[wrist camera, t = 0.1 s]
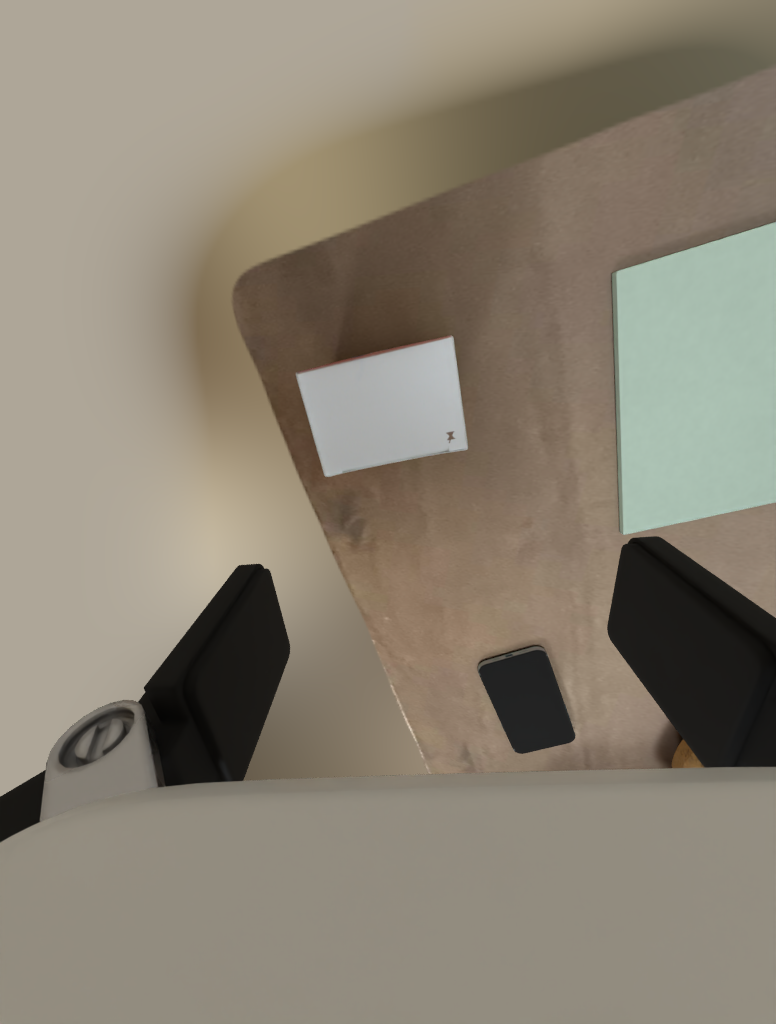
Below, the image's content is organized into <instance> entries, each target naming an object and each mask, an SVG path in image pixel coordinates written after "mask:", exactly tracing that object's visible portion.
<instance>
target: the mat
mask: <svg viewBox="0 0 776 1024" xmlns="http://www.w3.org/2000/svg"><path fill="white" fill-rule="evenodd" d="M612 294H613V327H614V360H615V392H616V425H617V457H618V490H619V522H620V533H622V534H623V535H626V534H630V533H635V532H640V531H644V530H649V529H654V528H658V527H663V526H668V525H672V524H677V523H681V522H686V521H691V520H695V519H700V518H705V517H709V516H714V515H719V514H723V513H728V512H733V511H737V510H742V509H747V508H751V507H756V506H761V505H765V504H770V503H775V502H776V222H774V223H771V224H767V225H764V226H761V227H758V228H754V229H751V230H748V231H745V232H742V233H738V234H735V235H732V236H729V237H725V238H722V239H719V240H716V241H713V242H709V243H706V244H703V245H700V246H697V247H693V248H690V249H687V250H684V251H680V252H677V253H674V254H671V255H668V256H664V257H661V258H658V259H655V260H651V261H648V262H645V263H642V264H639V265H635V266H632V267H629V268H626V269H623V270H619V271H616V272H614V273H612Z"/></svg>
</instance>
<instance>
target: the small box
mask: <svg viewBox="0 0 776 1024" xmlns="http://www.w3.org/2000/svg"><path fill="white" fill-rule="evenodd" d="M296 378H297V381H298V385H299V388H300V392H301V395H302V399H303V402H304V406H305V409H306V413H307V416H308V420H309V423H310V427H311V430H312V434H313V437H314V441H315V444H316V448H317V451H318V455H319V458H320V462H321V465H322V468H323V472H324V475H325V476H326V477H331V476H334V475H338V474H342V473H346V472H350V471H355V470H359V469H364V468H369V467H374V466H379V465H384V464H389V463H394V462H399V461H404V460H409V459H414V458H419V457H424V456H430V455H436V454H441V453H449V452H456V451H462V450H467V449H468V442H467V435H466V427H465V420H464V413H463V405H462V398H461V390H460V383H459V375H458V368H457V360H456V353H455V345H454V338H453V336H452V335H449V336H445V337H441V338H436V339H431V340H427V341H422V342H418V343H413V344H409V345H404V346H400V347H395V348H391V349H386V350H382V351H377V352H373V353H369V354H365V355H361V356H357V357H353V358H349V359H345V360H341V361H337V362H333V363H330V364H326V365H322V366H318V367H315V368H311V369H307V370H303V371H299V372H297V373H296Z"/></svg>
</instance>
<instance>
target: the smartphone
mask: <svg viewBox="0 0 776 1024" xmlns="http://www.w3.org/2000/svg"><path fill="white" fill-rule="evenodd" d="M478 672H479V675H480V677H481V680H482V682H483V684H484V686H485V688H486V690H487V693H488V695H489V697H490V699H491V701H492V704H493V706H494V708H495V710H496V712H497V715H498V717H499V719H500V721H501V724H502V726H503V728H504V731H505V732H506V734H507V737H508V739H509V741H510V743H511V745H512V748H513V750H514V751H515V752H517V753H521V754H523V753H528V752H532V751H536V750H541V749H545V748H549V747H554V746H558V745H562V744H566V743H570V742H572V741H573V740H574V739H575V733H574V730H573V727H572V723H571V721H570V718H569V715H568V713H567V709H566V706H565V704H564V701H563V698H562V696H561V693H560V690H559V687H558V684H557V681H556V678H555V676H554V673H553V670H552V667H551V664H550V661H549V658H548V656H547V653H546V651H545V650H544V649H543V648H541V647H538V646H535V647H530V648H527V649H523V650H520V651H516V652H513V653H510V654H506V655H503V656H499V657H496V658H492V659H489V660H485V661H483V662H481V663H480V664H479V666H478Z"/></svg>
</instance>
